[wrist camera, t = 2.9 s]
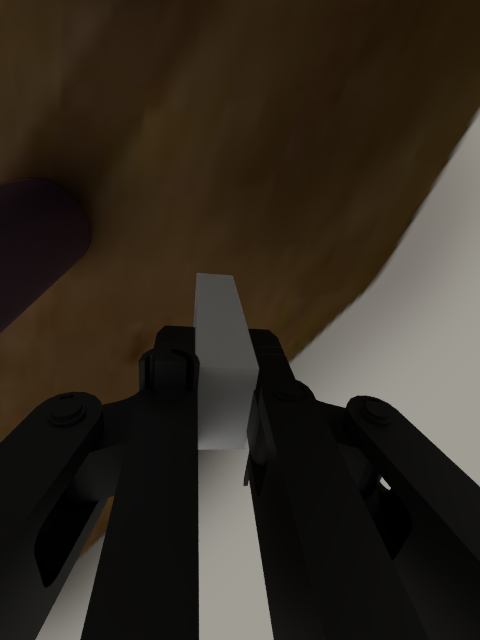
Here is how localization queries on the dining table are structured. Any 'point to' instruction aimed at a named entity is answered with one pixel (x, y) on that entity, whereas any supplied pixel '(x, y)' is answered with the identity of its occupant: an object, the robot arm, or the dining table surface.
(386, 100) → the dining table surface
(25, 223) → the beverage can
